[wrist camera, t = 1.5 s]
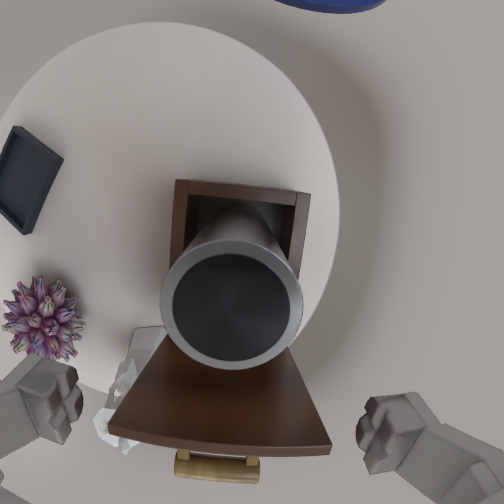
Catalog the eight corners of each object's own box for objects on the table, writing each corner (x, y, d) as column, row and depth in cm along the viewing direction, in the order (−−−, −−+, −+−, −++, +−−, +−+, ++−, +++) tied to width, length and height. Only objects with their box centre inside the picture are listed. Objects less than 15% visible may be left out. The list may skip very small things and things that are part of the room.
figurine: (186, 333, 36) (151, 438, 19) (174, 379, 38) (144, 482, 21) (134, 315, 36) (70, 406, 18) (126, 363, 37) (76, 456, 20)
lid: (106, 423, 12) (118, 483, 12) (333, 444, 12) (312, 501, 13) (167, 332, 27) (166, 378, 27) (287, 344, 28) (280, 389, 28)
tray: (21, 126, 29) (13, 125, 27) (64, 159, 31) (55, 159, 29) (-7, 195, 31) (-15, 197, 29) (32, 232, 33) (23, 235, 31)
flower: (43, 257, 35) (104, 277, 34) (47, 332, 37) (104, 360, 36) (-19, 273, 24) (37, 305, 22) (-5, 360, 26) (52, 402, 24)
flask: (240, 190, 31) (236, 206, 12) (279, 235, 33) (331, 315, 13) (195, 230, 32) (131, 304, 13) (235, 273, 34) (228, 391, 14)
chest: (191, 179, 32) (175, 179, 24) (294, 190, 33) (311, 194, 25) (183, 301, 35) (168, 334, 27) (277, 311, 36) (286, 346, 28)
